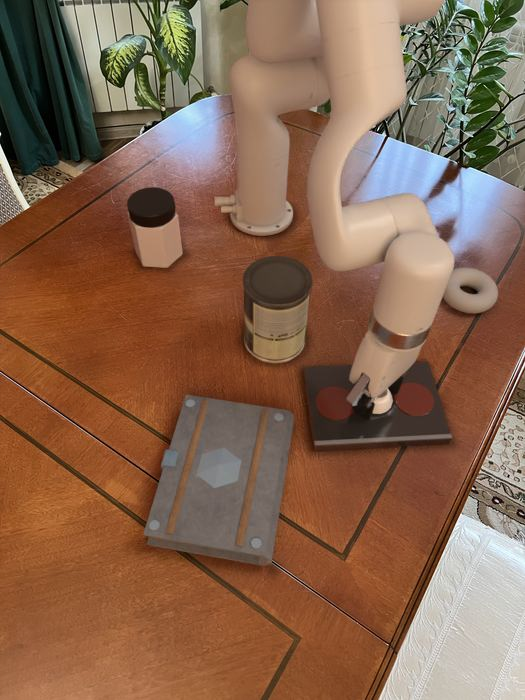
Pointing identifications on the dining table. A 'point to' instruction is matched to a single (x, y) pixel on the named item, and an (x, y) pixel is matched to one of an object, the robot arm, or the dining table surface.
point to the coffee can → (276, 308)
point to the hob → (381, 429)
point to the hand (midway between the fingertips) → (375, 399)
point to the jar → (154, 227)
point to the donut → (470, 301)
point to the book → (222, 481)
